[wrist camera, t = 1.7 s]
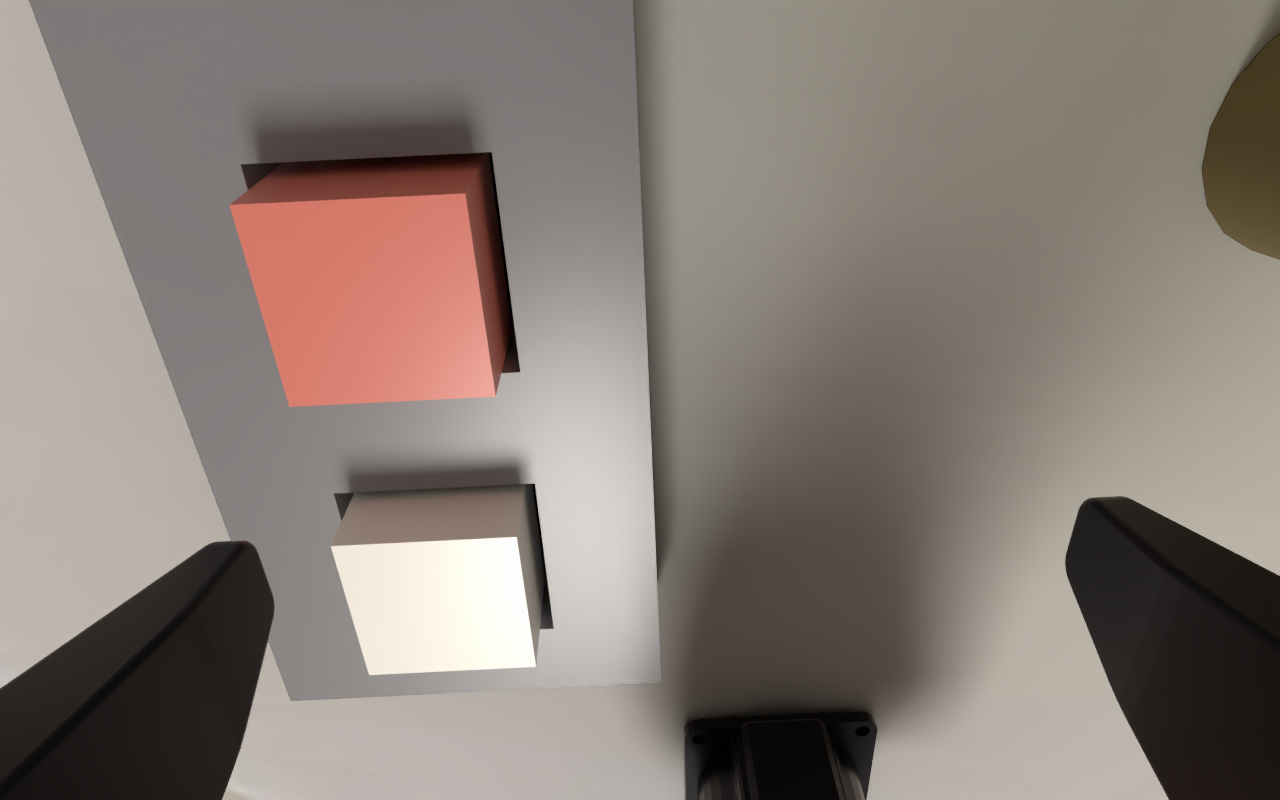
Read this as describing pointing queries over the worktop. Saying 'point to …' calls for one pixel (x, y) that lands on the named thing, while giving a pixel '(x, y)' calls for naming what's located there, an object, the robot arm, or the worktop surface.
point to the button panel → (405, 430)
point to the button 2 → (443, 578)
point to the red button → (379, 277)
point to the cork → (1248, 156)
